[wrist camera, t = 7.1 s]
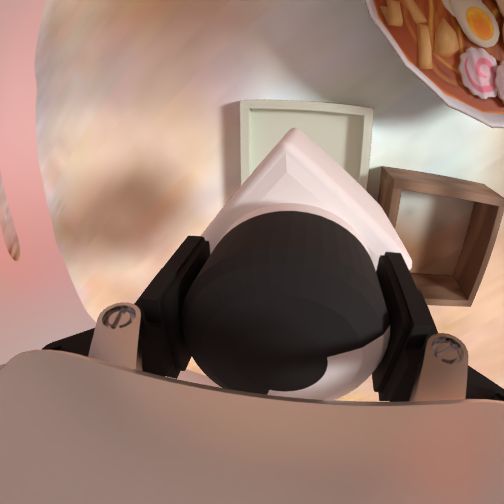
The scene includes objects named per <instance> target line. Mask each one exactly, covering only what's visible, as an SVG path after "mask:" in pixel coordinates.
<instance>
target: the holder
mask: <svg viewBox="0 0 504 504" xmlns="http://www.w3.org/2000/svg"><path fill="white" fill-rule="evenodd" d="M402 190H408V191H415V192H422V193H429V194H435V195H441V196H447V197H453V198H459V199H464V200H470V201H475V202H474V207H473V211H472V215H471V219H470V223H469V227H468V231H467V234H466V238H465V241H464V245H463V248H462V251H461V255H460V258H459V261H458V264H457V267H456V270H455V273H454V276H445V275H432V274H419V273H411V276H412V278H413V280H414V282H415V285H416V287H417V289H419V290H420V291H421V292H422V295H423V297H424V299H425V302H426V304H427V305H439V306H467V307H471V305H472V303H473V300H474V298H475V296H476V293H477V291H478V288H479V286H480V283H481V281H482V278H483V275H484V273H485V270H486V267H487V264H488V262H489V259H490V256H491V253H492V250H493V247H494V244H495V240H496V237H497V234H498V230H499V227H500V223H501V220H502V216H503V212H504V198H503V197H502V196H500V195H499V194H498V193H496V192H495V191H493V190H492V189H490V188H489V187H487V186H486V185H484V184H481V183H476V182H472V181H467V180H462V179H457V178H452V177H447V176H441V175H436V174H430V173H424V172H418V171H412V170H405V169H398V168H391V167H384V166H382V171H381V179H380V187H379V194H378V201H377V203H378V204H379V205H380V206H381V207H382V209H383V211H384V212H385V214H386V216H387V217H388V219H389V221H390V222H391V224H392V226H393V227H394V229H395V226H396V221H397V215H398V210H399V204H400V198H401V192H402Z"/></svg>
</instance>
